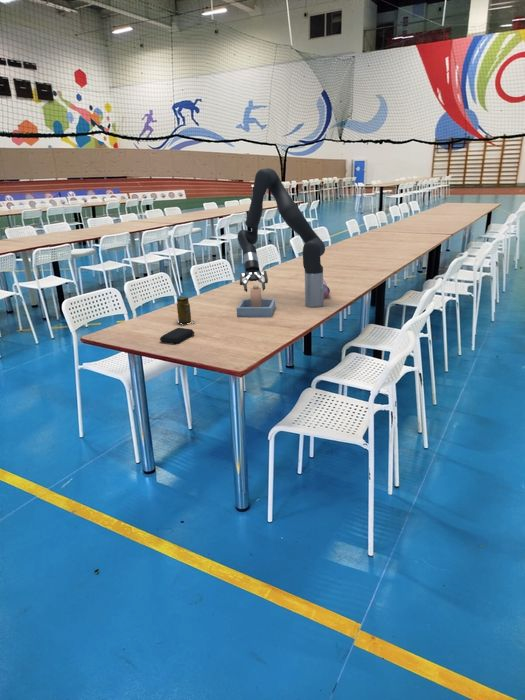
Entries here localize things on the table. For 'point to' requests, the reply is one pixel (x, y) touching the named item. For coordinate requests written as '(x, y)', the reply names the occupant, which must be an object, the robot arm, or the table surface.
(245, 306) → the bin
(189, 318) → the condiment
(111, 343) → the table surface
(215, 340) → the table surface
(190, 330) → the carrying case or bag
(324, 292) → the pencil case
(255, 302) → the cruet
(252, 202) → the robot arm
